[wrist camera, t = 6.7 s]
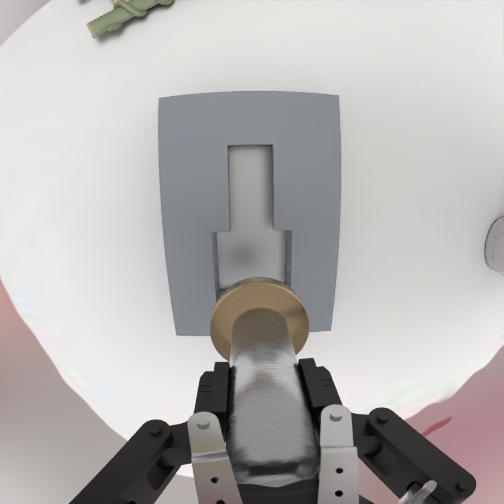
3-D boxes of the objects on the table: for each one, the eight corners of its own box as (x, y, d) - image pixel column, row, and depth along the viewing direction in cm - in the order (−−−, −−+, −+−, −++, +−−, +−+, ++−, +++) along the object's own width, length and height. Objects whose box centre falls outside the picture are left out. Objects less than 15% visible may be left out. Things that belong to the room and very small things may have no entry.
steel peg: (307, 275, 18) (382, 413, 7) (301, 354, 20) (341, 495, 9) (208, 278, 18) (166, 428, 7) (216, 357, 20) (199, 504, 9)
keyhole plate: (327, 103, 28) (338, 95, 25) (322, 314, 36) (330, 330, 32) (168, 106, 28) (158, 98, 24) (182, 318, 35) (176, 335, 31)
